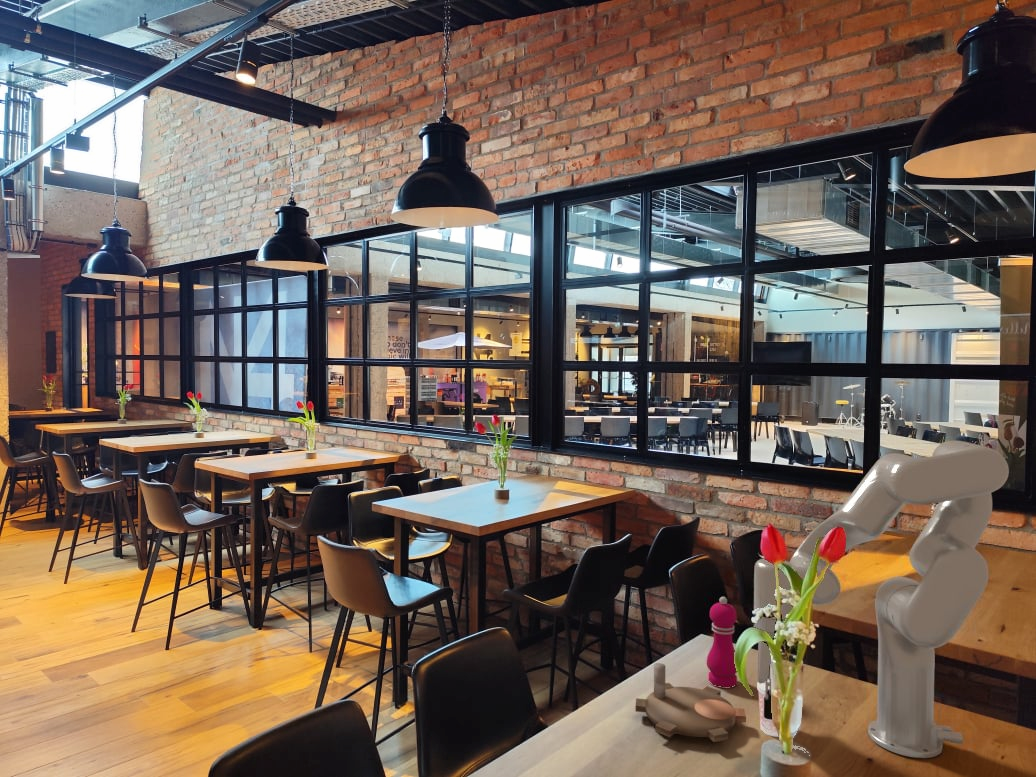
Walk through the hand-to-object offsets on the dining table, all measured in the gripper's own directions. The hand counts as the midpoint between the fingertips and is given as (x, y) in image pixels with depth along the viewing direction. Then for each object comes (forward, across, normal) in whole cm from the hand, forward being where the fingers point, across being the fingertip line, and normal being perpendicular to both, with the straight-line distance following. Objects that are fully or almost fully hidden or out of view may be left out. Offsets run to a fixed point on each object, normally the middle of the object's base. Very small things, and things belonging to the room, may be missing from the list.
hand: (772, 710), depth 137 cm
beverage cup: (+4, 0, 0) cm, 4 cm away
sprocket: (+2, +3, -16) cm, 16 cm away
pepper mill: (+4, -18, -11) cm, 22 cm away
